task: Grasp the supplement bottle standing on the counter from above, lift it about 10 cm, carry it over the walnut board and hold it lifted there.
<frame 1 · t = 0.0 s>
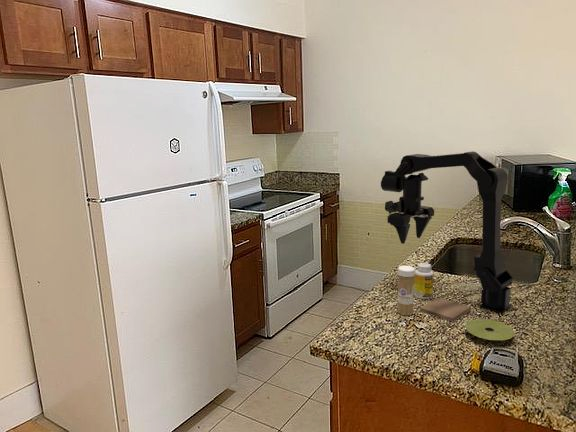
hand: (410, 240, 142), 15 cm above the worktop, tool pointing down, fingers open, 9 cm apart
sprinkles bottle: (405, 313, 123), on the worktop
supplement bottle: (423, 296, 134), on the worktop
walnut board: (445, 310, 123), on the worktop
yellow-green flat disc: (488, 336, 108), on the worktop
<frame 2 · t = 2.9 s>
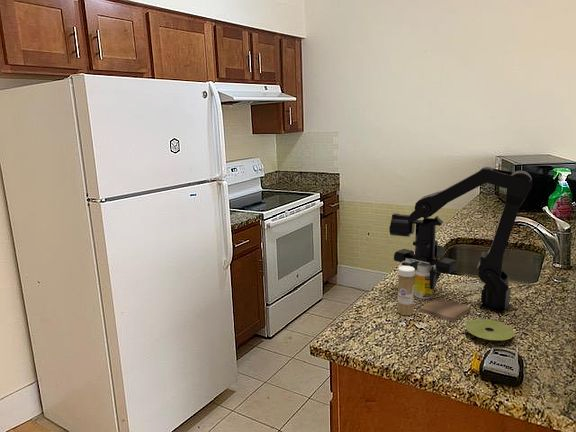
hand: (423, 286, 133), 3 cm above the worktop, tool pointing down, fingers closed on supplement bottle, 5 cm apart
supplement bottle: (423, 296, 134), on the worktop, touching gripper
everything else where it was.
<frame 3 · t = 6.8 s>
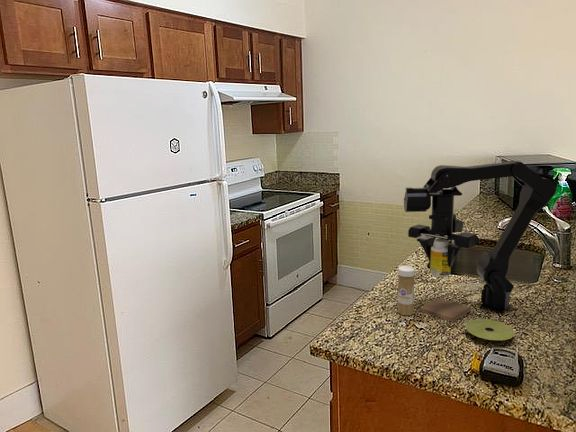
hand: (440, 264, 123), 13 cm above the worktop, tool pointing down, fingers closed on supplement bottle, 5 cm apart
supplement bottle: (440, 275, 124), point 10 cm above the worktop, touching gripper
everything else where it was.
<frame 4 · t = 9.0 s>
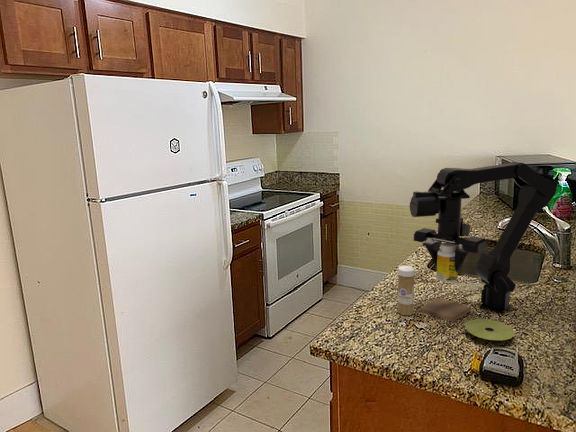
hand: (447, 269, 120), 12 cm above the worktop, tool pointing down, fingers closed on supplement bottle, 5 cm apart
supplement bottle: (446, 280, 121), point 9 cm above the worktop, touching gripper
everything else where it was.
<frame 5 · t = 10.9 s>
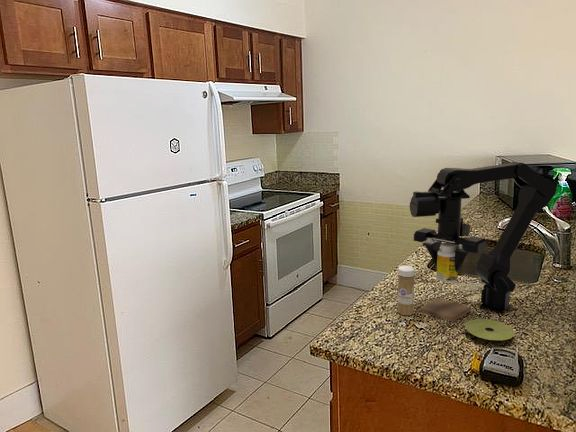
hand: (447, 269, 120), 12 cm above the worktop, tool pointing down, fingers closed on supplement bottle, 5 cm apart
supplement bottle: (446, 280, 121), point 9 cm above the worktop, touching gripper
everything else where it was.
at the end: the gripper is holding supplement bottle; supplement bottle point 9.2 cm above the worktop; supplement bottle inside the target area on the walnut board (0.0 cm from its centre), point 9.2 cm above the walnut board's base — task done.
